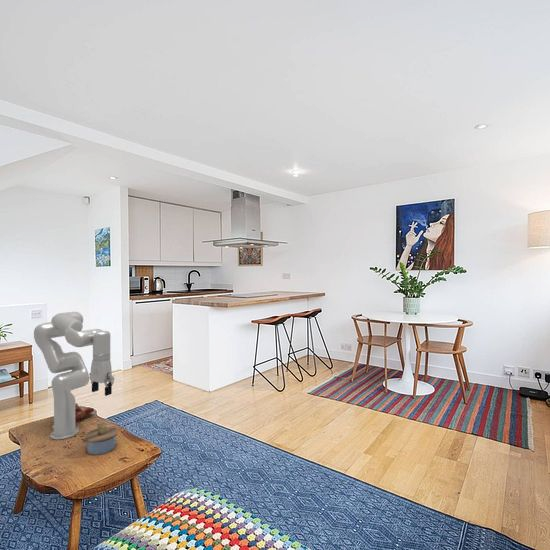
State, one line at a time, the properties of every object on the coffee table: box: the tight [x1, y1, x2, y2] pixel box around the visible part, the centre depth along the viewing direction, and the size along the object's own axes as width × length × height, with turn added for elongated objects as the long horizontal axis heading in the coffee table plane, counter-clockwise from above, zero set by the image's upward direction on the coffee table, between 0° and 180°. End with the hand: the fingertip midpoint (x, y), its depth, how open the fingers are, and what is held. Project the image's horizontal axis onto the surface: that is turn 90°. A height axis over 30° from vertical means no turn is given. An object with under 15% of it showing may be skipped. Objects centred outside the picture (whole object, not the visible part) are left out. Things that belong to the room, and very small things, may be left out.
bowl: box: [86, 435, 117, 456], centre depth 166 cm, size 12×12×6 cm
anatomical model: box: [75, 402, 95, 423], centre depth 200 cm, size 11×13×15 cm
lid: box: [84, 421, 119, 443], centre depth 166 cm, size 14×14×6 cm
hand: (101, 393), depth 166 cm, fingers open, 9 cm apart
